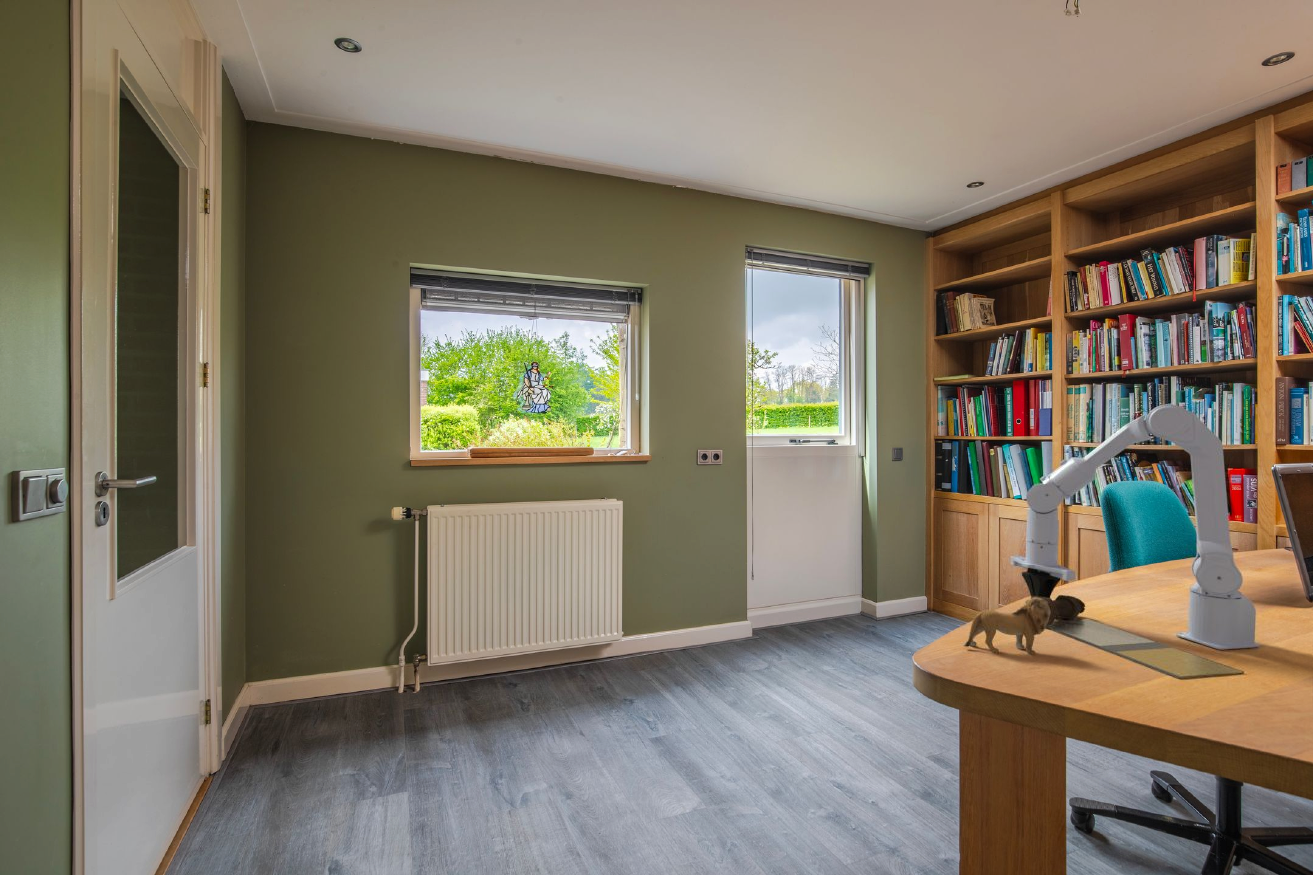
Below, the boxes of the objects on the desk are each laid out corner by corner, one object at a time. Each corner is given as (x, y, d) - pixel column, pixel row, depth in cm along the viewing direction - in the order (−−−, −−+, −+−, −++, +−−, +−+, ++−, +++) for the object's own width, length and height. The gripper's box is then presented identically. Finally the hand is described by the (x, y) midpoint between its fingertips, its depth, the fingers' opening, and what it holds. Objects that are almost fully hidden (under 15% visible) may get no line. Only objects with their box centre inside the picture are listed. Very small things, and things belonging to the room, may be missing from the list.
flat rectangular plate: (1089, 620, 130) (1089, 618, 130) (1243, 673, 103) (1243, 671, 103) (1034, 623, 127) (1034, 621, 127) (1178, 678, 100) (1178, 676, 100)
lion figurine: (1037, 644, 115) (1039, 593, 115) (1057, 655, 109) (1059, 602, 109) (956, 644, 114) (958, 593, 114) (973, 655, 109) (974, 601, 108)
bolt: (1082, 624, 132) (1043, 631, 124) (1059, 608, 136) (1020, 614, 128) (1097, 602, 130) (1059, 607, 122) (1073, 586, 134) (1034, 590, 126)
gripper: (999, 536, 140) (997, 598, 140) (1054, 549, 126) (1052, 618, 126) (1027, 535, 142) (1025, 597, 142) (1084, 548, 127) (1082, 617, 128)
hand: (1039, 607), depth 134 cm, fingers closed
